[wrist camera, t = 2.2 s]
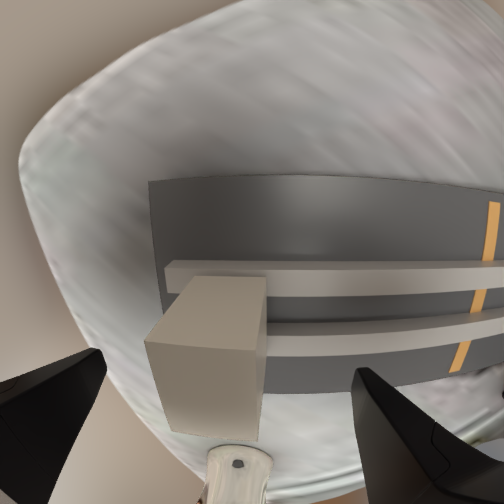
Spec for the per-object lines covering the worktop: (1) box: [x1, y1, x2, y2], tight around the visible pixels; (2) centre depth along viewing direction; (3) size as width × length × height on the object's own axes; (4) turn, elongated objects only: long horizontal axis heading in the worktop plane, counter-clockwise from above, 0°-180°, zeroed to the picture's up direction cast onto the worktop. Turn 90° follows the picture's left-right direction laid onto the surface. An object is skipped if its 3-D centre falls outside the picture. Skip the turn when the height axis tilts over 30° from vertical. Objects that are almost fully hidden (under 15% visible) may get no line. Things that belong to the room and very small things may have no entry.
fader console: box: [148, 175, 504, 394], centre depth 13 cm, size 24×12×3 cm, turn 91°
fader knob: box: [144, 276, 267, 442], centre depth 10 cm, size 3×4×6 cm
